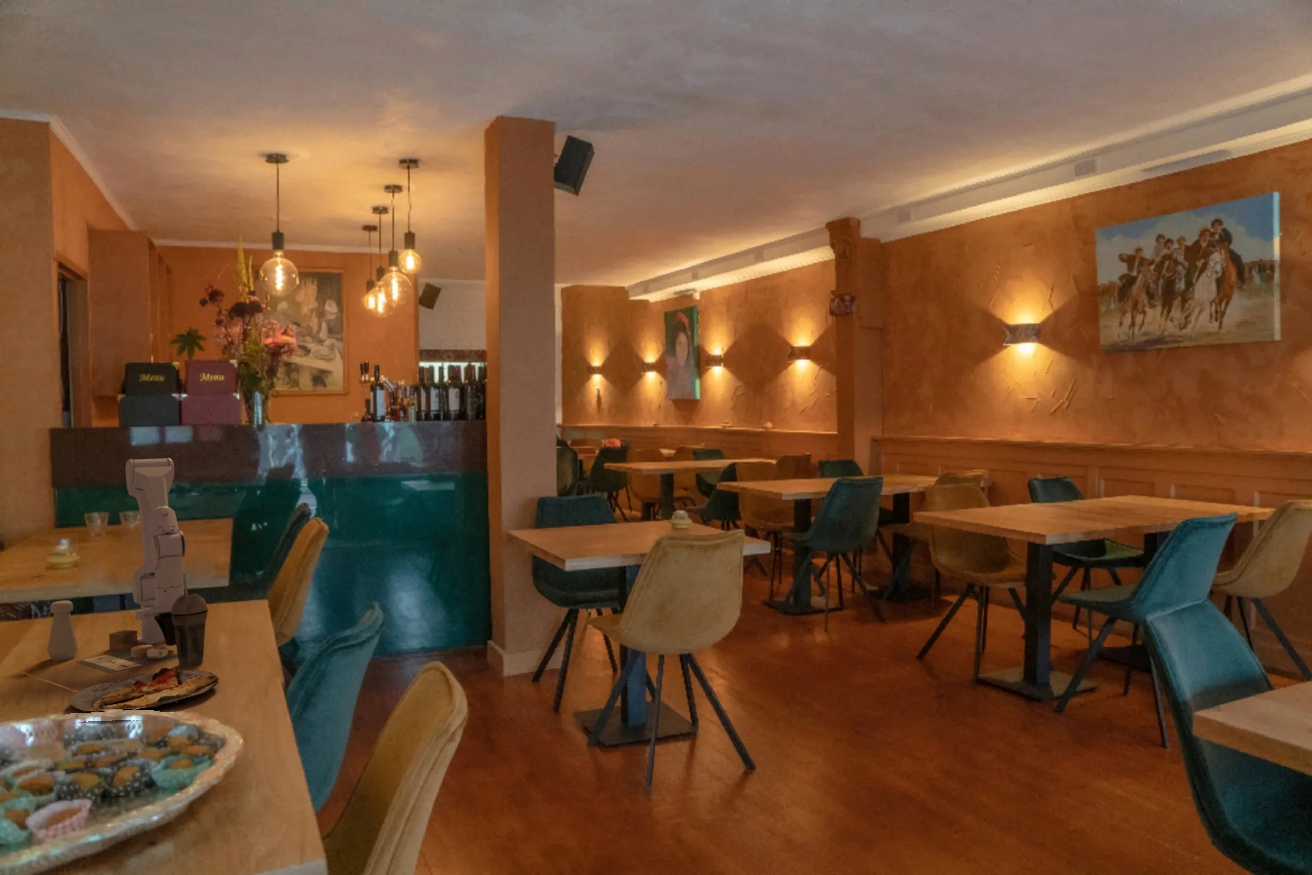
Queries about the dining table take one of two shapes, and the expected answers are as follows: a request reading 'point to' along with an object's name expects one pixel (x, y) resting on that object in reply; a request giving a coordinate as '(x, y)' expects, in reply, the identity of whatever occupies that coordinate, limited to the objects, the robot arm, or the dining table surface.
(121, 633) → the walnut block
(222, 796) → the dining table surface
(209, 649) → the dining table surface
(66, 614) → the salt shaker
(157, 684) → the food plate
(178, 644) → the beverage cup
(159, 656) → the tealight tin
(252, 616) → the dining table surface
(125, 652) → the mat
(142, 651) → the beech disc
